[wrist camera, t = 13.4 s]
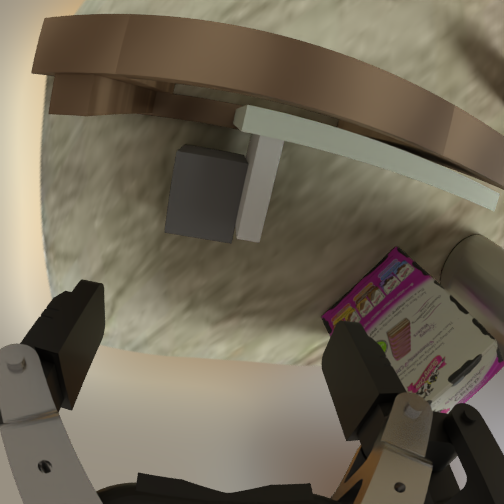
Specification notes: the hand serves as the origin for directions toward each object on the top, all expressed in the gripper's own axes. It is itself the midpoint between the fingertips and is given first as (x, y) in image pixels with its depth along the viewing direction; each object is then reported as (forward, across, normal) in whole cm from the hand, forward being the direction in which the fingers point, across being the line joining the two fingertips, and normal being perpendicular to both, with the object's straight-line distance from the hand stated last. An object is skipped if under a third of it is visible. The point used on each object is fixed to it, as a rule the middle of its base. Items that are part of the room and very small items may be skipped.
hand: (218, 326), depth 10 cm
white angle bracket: (+18, -8, -3) cm, 19 cm away
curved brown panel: (+19, -3, -8) cm, 20 cm away
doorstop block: (+19, +1, -1) cm, 19 cm away
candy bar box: (+19, -17, +7) cm, 27 cm away
